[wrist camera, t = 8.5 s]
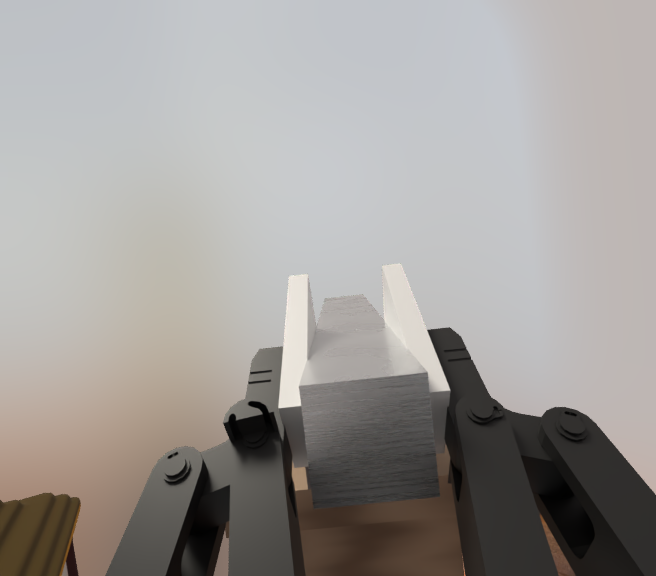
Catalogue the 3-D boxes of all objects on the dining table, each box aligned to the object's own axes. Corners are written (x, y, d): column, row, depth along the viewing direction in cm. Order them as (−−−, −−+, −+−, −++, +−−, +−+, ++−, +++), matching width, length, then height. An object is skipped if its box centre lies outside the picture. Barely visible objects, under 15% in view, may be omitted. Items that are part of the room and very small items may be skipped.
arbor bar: (313, 509, 9) (298, 385, 9) (329, 335, 31) (324, 298, 31) (440, 496, 9) (427, 372, 9) (366, 331, 31) (362, 294, 31)
